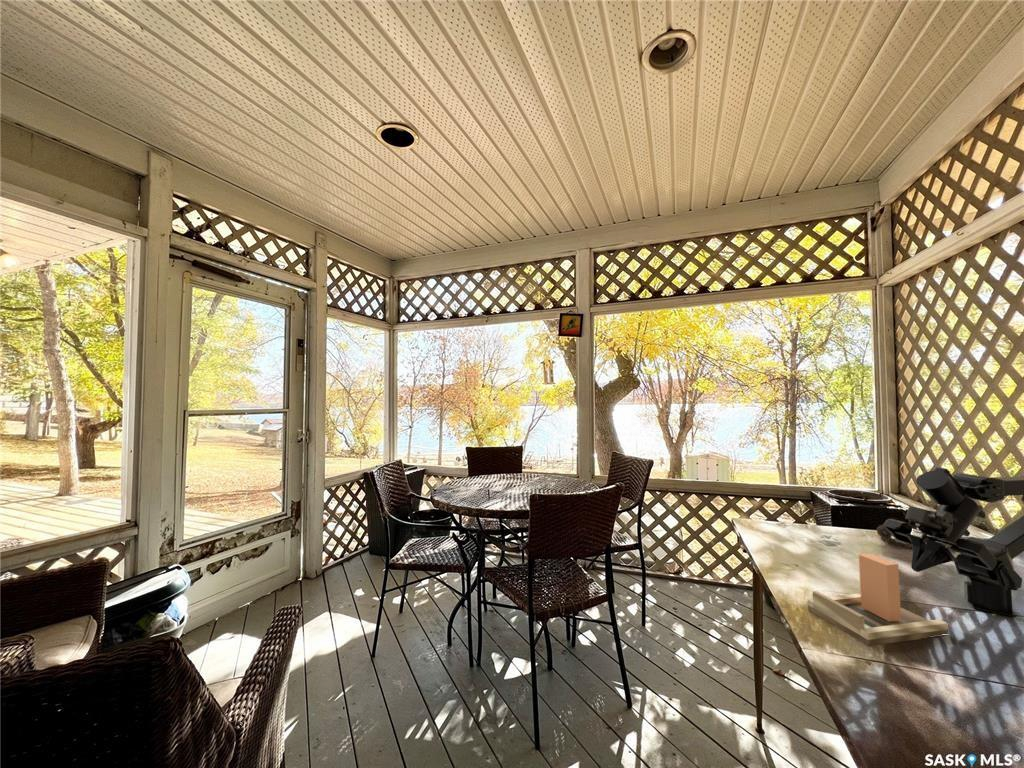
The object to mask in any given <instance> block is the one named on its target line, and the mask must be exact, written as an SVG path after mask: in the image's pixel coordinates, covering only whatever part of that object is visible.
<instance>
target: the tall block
mask: <svg viewBox="0 0 1024 768" xmlns="http://www.w3.org/2000/svg"><path fill="white" fill-rule="evenodd" d="M858 564H859V583H860V584H859V585H860V587H859V588H860V593H861V607H862V608H863V609H865V610H867V611H869V612H871V613H873V614H875V615H877V616H879V617H881V618H883V619H885V620H887V621H889V622H891V621H899V620H901V608H902V607H901V594H900V591H901V589H900V576H899V575H900V573H899V564H898V563H896V562H894V561H891V560H888V559H886V558H883V557H880V556H878V555H875V554H872V553H862V554H858ZM900 607H901V608H900Z"/></svg>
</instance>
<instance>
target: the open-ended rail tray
mask: <svg viewBox="0 0 1024 768" xmlns="http://www.w3.org/2000/svg"><path fill="white" fill-rule="evenodd" d="M900 608H901V620H899V621H891V622H889V621H887V620H885V619H883V618H881V617H879V616H877V615H875V614H873V613H871V612H869V611H867V610H865V609H863V608H862V607H861V592H860V593H853V594H844V595H832V596H827V595H825V594H823V593H821V592H820V591H817V590H815V591H812V598H807V610H808V611H809V612H810V613H813V614H814V615H816V616H818V617H819V618H821V619H823V620H824V621H825V622H827V623H830V625H833V626H834V627H836V628H837V629H839V630H841V631H842V632H844V633H846V634H848V635H849V636H851V637H853V638H855V639H856V640H858V641H860V642H861V643H863V644H865V645H866V646H867V647H868V646H877V645H885V644H893V643H900V642H908V641H916V640H922V639H921V638H924V639H926V638H925V637H930V636H934V635H942V634H948V635H949V624H948V622H946V621H944V620H942V619H938V618H937V619H931V620H928V619H927V618H924V617H922V616H920V615H918V614H916V613H914V612H913V611H912V612H911V611H909V610H907V609H906V608H903V607H901V606H900Z"/></svg>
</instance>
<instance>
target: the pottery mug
mask: <svg viewBox="0 0 1024 768" xmlns="http://www.w3.org/2000/svg"><path fill="white" fill-rule="evenodd" d="M902 522H905V521H903V520H902ZM905 523H907V524H908V525H909V526H910V527H911V528H912V529H915V530H919V529H918V528H917V527H916V526H913V525H912V524H910V523H908V522H905ZM876 532H877V535H878V536H879V537H880V540H881V541H882V540H883V541H887V542H890V540H891V539H892V537H893V536H892V535H891V534H890V533H889V532H888V531H887V530H886V528H885V527H884V526H883V524H881V525H878V527H876ZM908 545H909V547H910V548H912V547H913V544H911V545H910V544H908Z"/></svg>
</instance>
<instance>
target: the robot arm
mask: <svg viewBox="0 0 1024 768" xmlns="http://www.w3.org/2000/svg"><path fill="white" fill-rule="evenodd" d="M915 482H916V485H918V487H919V488H920V489H921V490H922V492H924V493H925V494H926V496H927V497H928V498H929V499H930V500H931V501H932V502H933V503H935V504H936V505H939V506H938V507H937V509H936V510H935V511H934V510H929V509H924V508H921V507H916V506H913V505H909V506H908V508H907V512H906V514H905V517H904V519H905V520H909V521H911V522H912V523H915V524H914V527H915V528H916V529H918V530H915V529H912V528H911V527H910V526H909V525H908V524H909V523H908V522H906V523H905V521H903V520H902V521H903V522H902V521H901V520H898V519H894V518H887V519H886V520H885V521H884V523H883V524H882V525H883V526H884V527H885V528H886V530H887V531H888V532H889V533H890V534H891V535H892V536H891V537H893V538H894V540H897V541H898V542H901V543H903V544H907V545H911V544H913V548H912V557H911V558H912V559H911V567H910V568H911V570H913V571H914V572H916V573H919V572H922V571H925V570H928V569H931V568H933V567H936V566H940V565H943V564H946V563H950V562H953V563H954V566H955V568H956V570H957V571H956V572H957V574H958V575H961V576H962V575H963V576H965V577H966V580H965V581H964V582H963V586H964V587H963V589H964V590H963V591H964V599H965V600H966V601H967V603H969V605H970V606H971V607H972V609H975V610H977V611H983V612H988V613H992V614H993V613H994V614H999V615H1001V616H1008V617H1013V618H1015V617H1017V614H1016V613H1015V611H1014V609H1013V597H1012V596H1013V595H1012V591H1019V589H1021V588H1022V585H1023V584H1022V582H1023V578H1022V577H1021V576H1020V575H1019V574H1018V573H1017V572H1016V571H1015V567H1014V564H1013V563H1014V562H1013V560H1014V559H1015V558H1016V557H1018V556H1019V555H1021V554H1022V553H1023V552H1024V514H1023V515H1022V516H1021V517H1019V518H1018V519H1016V520H1015V521H1013V522H1012V523H1010V524H1009V525H1008V526H1005V528H1003V529H1002V530H1000V531H998V532H997V533H995V534H994V535H993V536H991V537H990V538H989V539H986V540H985V539H982V538H978V537H974V536H970V535H971V532H970V531H969V530H968V529H969V528H970V526H971V524H973V522H974V520H975V519H976V518H981V519H985V518H986V517H987V516H986V512H985V511H984V509H983V506H982V505H979V504H978V503H977V502H976V501H978V502H979V501H980V502H984V503H996V502H1000V501H1003V500H1005V497H1008V496H1009V497H1010V496H1021V501H1022V502H1023V503H1024V475H1022V476H1005V477H1004V476H998V477H996V476H995V477H991V476H982V475H977V474H969V473H962V472H958V473H955V474H953V475H952V473H951V471H950V470H949V469H948V468H943V467H938V466H937V467H935V469H934V470H929V471H926V472H924V473H922V474H919V475H918V476H917V478H916V481H915ZM907 523H908V524H907ZM963 536H965V537H967V538H964V537H963ZM969 536H970V537H969Z"/></svg>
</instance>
